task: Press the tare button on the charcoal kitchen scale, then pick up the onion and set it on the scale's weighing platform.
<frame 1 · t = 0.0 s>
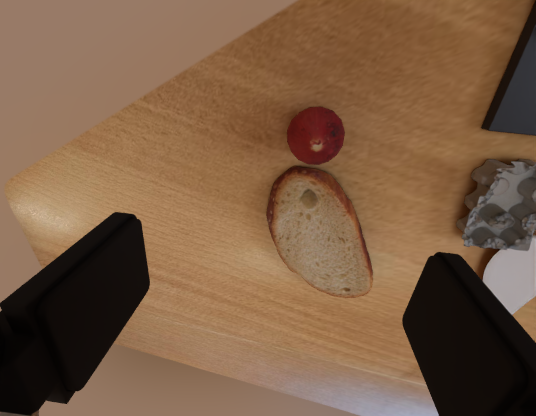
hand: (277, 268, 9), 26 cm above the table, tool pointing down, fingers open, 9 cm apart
egg carton: (493, 198, 34), on the table
bread slice: (326, 234, 39), on the table
white plastic spork: (483, 315, 42), on the table
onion: (313, 128, 32), on the table
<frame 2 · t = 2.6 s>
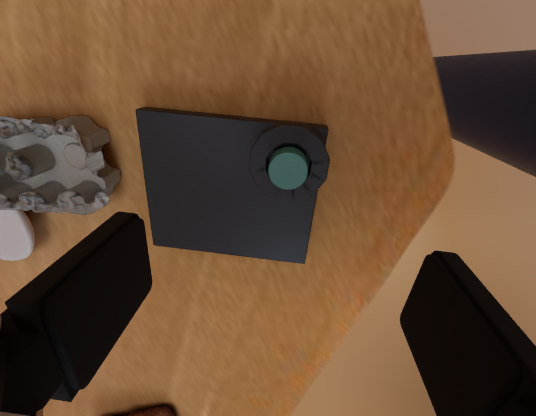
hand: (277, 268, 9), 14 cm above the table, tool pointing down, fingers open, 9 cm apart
scale: (232, 188, 24), on the table
egg carton: (63, 157, 24), on the table
tare button: (288, 167, 19), point 3 cm above the table, slide at 0.1 cm
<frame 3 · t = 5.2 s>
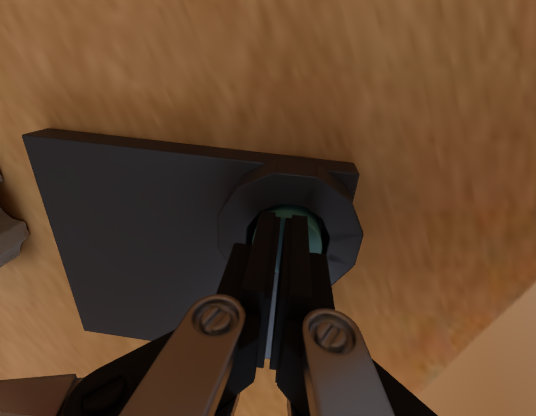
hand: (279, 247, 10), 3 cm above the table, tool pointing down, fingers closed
scale: (199, 253, 15), on the table
tare button: (287, 236, 11), point 3 cm above the table, slide at -0.7 cm, touching gripper
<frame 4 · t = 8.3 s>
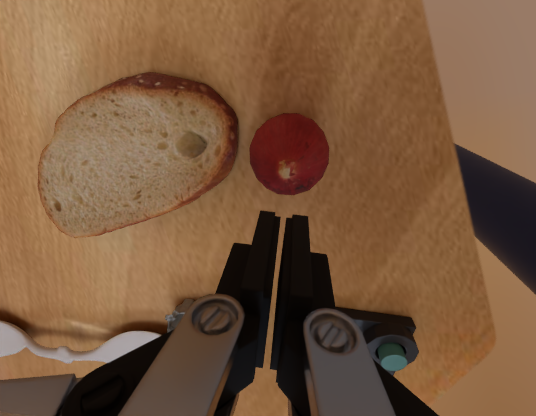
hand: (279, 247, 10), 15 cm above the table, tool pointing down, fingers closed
scale: (338, 343, 34), on the table
egg carton: (219, 319, 35), on the table
bread slice: (139, 167, 27), on the table
white plastic spork: (85, 334, 39), on the table
tare button: (391, 356, 30), point 3 cm above the table, slide at 0.1 cm
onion: (290, 142, 24), on the table
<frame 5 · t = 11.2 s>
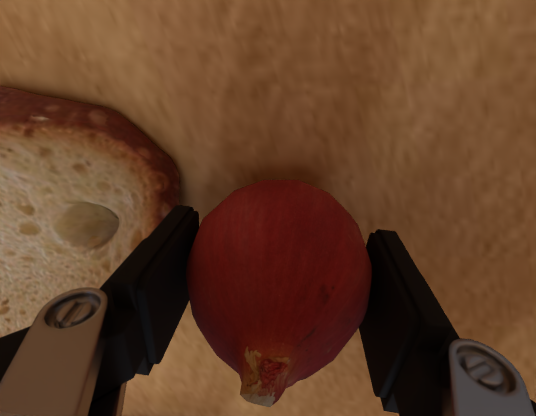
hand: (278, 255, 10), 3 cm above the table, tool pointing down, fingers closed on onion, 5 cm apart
bread slice: (20, 247, 15), on the table
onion: (283, 213, 13), on the table, touching gripper
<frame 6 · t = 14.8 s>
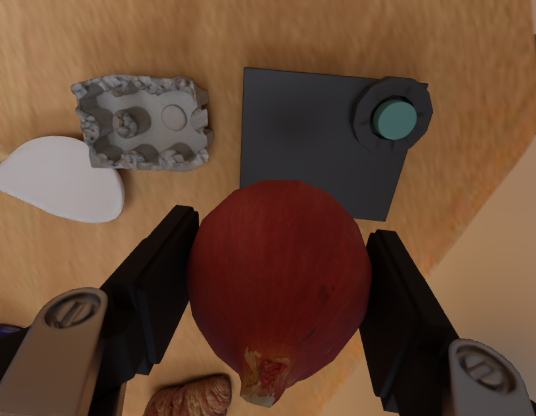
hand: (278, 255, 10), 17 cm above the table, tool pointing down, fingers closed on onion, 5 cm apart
pastry: (192, 400, 46), on the table
scale: (320, 148, 25), on the table
egg carton: (158, 120, 25), on the table
tare button: (393, 119, 20), point 3 cm above the table, slide at 0.1 cm
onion: (283, 213, 13), point 14 cm above the table, touching gripper
when the fingers open (4 cm above the table, at t = 18.5 s): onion stays where it is, resting on scale.
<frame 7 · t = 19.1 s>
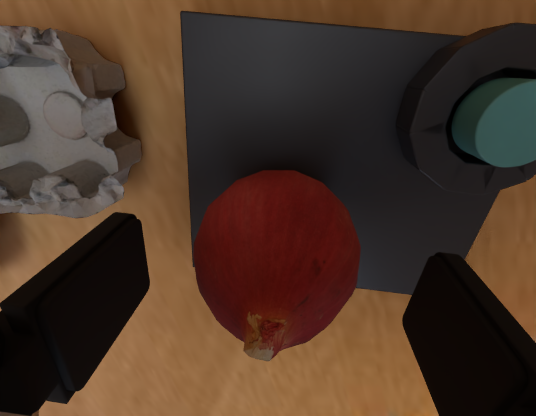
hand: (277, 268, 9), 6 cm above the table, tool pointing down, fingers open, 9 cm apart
scale: (334, 172, 14), on the table
egg carton: (43, 120, 14), on the table
tare button: (505, 122, 9), point 3 cm above the table, slide at 0.1 cm
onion: (281, 204, 14), point 1 cm above the table, touching scale
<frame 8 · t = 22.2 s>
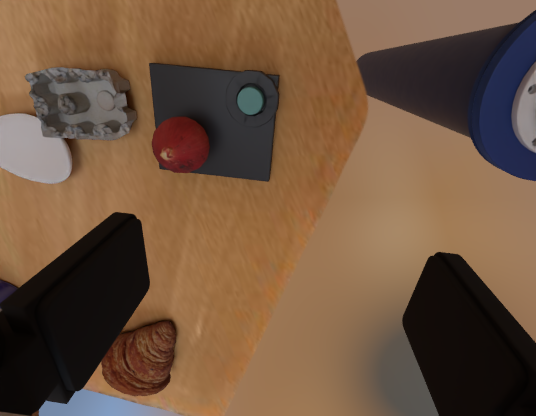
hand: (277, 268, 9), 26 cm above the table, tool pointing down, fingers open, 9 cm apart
pastry: (146, 346, 54), on the table
scale: (216, 124, 33), on the table
egg carton: (95, 103, 34), on the table
dog bowl: (5, 305, 53), on the table
tare button: (250, 100, 29), point 3 cm above the table, slide at 0.1 cm
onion: (193, 137, 33), point 1 cm above the table, touching scale
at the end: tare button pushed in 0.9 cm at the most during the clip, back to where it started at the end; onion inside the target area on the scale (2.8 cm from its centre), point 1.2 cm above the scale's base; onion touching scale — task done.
